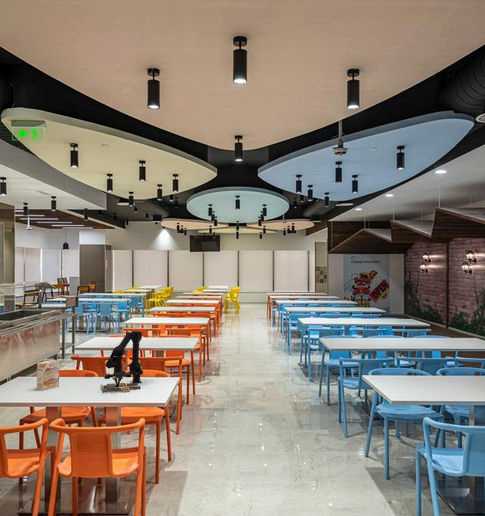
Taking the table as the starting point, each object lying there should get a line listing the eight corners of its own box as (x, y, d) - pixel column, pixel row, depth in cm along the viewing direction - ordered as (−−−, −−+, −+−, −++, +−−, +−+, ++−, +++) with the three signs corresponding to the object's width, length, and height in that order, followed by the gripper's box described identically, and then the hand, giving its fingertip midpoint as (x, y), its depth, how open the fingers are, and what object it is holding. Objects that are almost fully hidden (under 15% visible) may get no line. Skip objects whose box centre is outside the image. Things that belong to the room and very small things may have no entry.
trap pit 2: (121, 390, 350) (121, 388, 350) (128, 390, 352) (128, 388, 352) (122, 392, 345) (122, 390, 345) (129, 391, 347) (129, 389, 347)
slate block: (106, 389, 356) (106, 383, 356) (115, 388, 357) (115, 383, 357) (106, 391, 350) (106, 385, 350) (115, 390, 352) (115, 385, 352)
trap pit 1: (118, 385, 367) (118, 383, 367) (125, 384, 368) (125, 382, 368) (119, 386, 362) (119, 384, 362) (126, 386, 364) (126, 384, 364)
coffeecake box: (43, 390, 350) (43, 363, 350) (36, 389, 353) (36, 362, 353) (59, 386, 363) (59, 360, 363) (52, 385, 366) (53, 359, 367)
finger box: (100, 388, 357) (100, 384, 357) (137, 385, 367) (137, 381, 367) (102, 392, 345) (102, 388, 345) (140, 389, 355) (140, 385, 355)
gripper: (105, 368, 345) (105, 391, 344) (132, 367, 352) (132, 388, 351) (104, 366, 355) (103, 387, 354) (129, 364, 362) (129, 385, 361)
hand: (117, 387), depth 355 cm, fingers closed
